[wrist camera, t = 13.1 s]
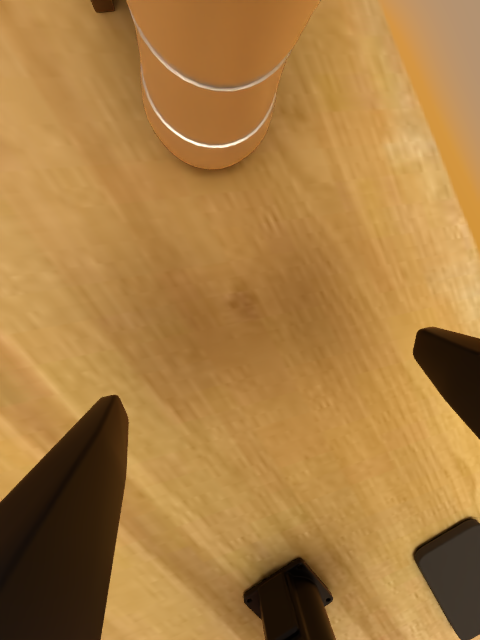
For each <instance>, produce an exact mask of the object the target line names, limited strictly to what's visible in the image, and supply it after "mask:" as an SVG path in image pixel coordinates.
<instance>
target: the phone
mask: <svg viewBox="0 0 480 640" xmlns="http://www.w3.org/2000/svg"><path fill="white" fill-rule="evenodd" d="M415 562H416V564H417V565H418V567H419V569H420V571H421V572H422V574H423V576H424V578H425V580H426V581H427V583H428V585H429V587H430V589H431V590H432V592H433V594H434V596H435V597H436V599H437V601H438V603H439V605H440V606H441V608H442V610H443V612H444V614H445V616H446V618H447V619H448V621H449V622H450V624H451V626H452V628H453V629H454V631H455V633H456V634H457V636H458V637H459V638H460V639H461V640H470V639H472V638H474V637H476V636H478V635H479V634H480V524H479V523H478V522H477V521H476V520H467V521H465V522H463V523H461V524H460V525H458V526H456V527H455V528H453V529H451V530H450V531H448V532H446V533H445V534H443V535H441V536H439V537H438V538H436V539H434V540H433V541H431V542H429V543H428V544H426V545H424V546H423V547H421V548H420V549H419V550H418V551H417V552H416V554H415Z"/></svg>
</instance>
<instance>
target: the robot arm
mask: <svg viewBox="0 0 480 640" xmlns="http://www.w3.org/2000/svg"><path fill="white" fill-rule="evenodd" d="M413 355H414V358H415V360H416V361H417V363H418V364H419V365H420V367H421V368H422V369H423V371H424V372H425V374H426V375H427V376H428V378H429V379H430V380H431V382H432V383H433V384H434V386H435V387H436V389H437V390H438V391H439V393H440V394H441V395H442V397H443V398H444V399H445V400H446V402H447V403H448V404H449V405H450V406H451V408H452V409H453V410H454V411H455V412H456V413H457V414H458V415H459V417H460V418H461V419H462V420H463V421H464V422H465V423H466V425H467V426H468V427H469V428H470V429H471V430H472V431H473V432H474V434H475V435H476V436H477V437H478V438H479V439H480V339H479V338H475V337H471V336H467V335H463V334H460V333H456V332H452V331H448V330H444V329H440V328H436V327H428V328H423V329H420V330H419V331H418V332H417V334H416V339H415V344H414V348H413ZM128 424H129V422H128V416H127V413H126V411H125V409H124V407H123V404H122V402H121V400H120V398H119V397H118V395H110V396H106V397H102V398H100V399H99V400H98V401H97V402H96V403H95V404H94V405H93V407H92V408H91V409H90V410H89V411H88V412H87V413H86V414H85V415H84V416H83V417H82V418H81V419H80V420H79V421H78V422H77V423H76V424H75V425H74V426H73V427H72V428H71V429H70V430H69V431H68V432H67V434H66V435H65V436H64V437H63V438H62V439H61V440H60V441H59V442H58V443H57V444H56V445H55V446H54V447H53V448H52V449H51V450H50V451H49V452H48V453H47V454H46V455H45V456H44V457H43V458H42V460H41V461H40V462H39V463H38V464H37V465H36V466H35V467H34V468H33V469H32V470H31V471H30V472H29V473H28V474H27V475H26V476H25V477H24V478H23V479H22V480H21V481H20V482H19V483H18V484H17V485H16V487H15V488H14V489H13V490H12V491H11V492H10V493H9V494H8V495H7V496H6V497H5V498H4V499H3V500H2V501H1V502H0V640H100V639H101V633H102V627H103V620H104V614H105V608H106V602H107V595H108V589H109V583H110V576H111V570H112V564H113V557H114V551H115V545H116V538H117V532H118V526H119V519H120V513H121V507H122V500H123V494H124V488H125V480H126V469H127V447H128ZM243 597H244V603H245V604H246V605H247V606H248V607H249V608H250V609H251V610H252V611H253V612H254V613H255V614H256V615H257V616H258V617H259V618H260V619H261V620H262V623H263V629H264V635H265V640H336V638H335V636H334V633H333V630H332V627H331V624H330V621H329V618H328V615H327V613H326V610H325V606H326V605H328V604H329V603H331V602H332V600H333V597H332V594H331V592H330V591H329V590H328V589H327V587H326V586H325V585H324V584H323V583H322V582H321V580H320V579H319V578H318V577H317V576H316V575H315V573H314V572H313V571H312V570H311V569H310V568H309V566H308V565H307V564H306V563H305V562H304V561H303V560H302V559H296V560H294V561H293V562H291V563H290V564H288V565H287V566H285V567H284V568H282V569H281V570H279V571H278V572H276V573H275V574H273V575H272V576H270V577H269V578H267V579H265V580H264V581H262V582H261V583H259V584H258V585H256V586H255V587H253V588H252V589H250V590H249V591H247V592H246V593H245V594H244V595H243Z"/></svg>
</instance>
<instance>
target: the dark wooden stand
mask: <svg viewBox="0 0 480 640" xmlns="http://www.w3.org/2000/svg"><path fill="white" fill-rule="evenodd" d="M91 2H92V4H93V7H94V9H95V11H96V12H105V11H114V5H113V1H112V0H91Z"/></svg>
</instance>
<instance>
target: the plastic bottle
mask: <svg viewBox="0 0 480 640" xmlns="http://www.w3.org/2000/svg"><path fill="white" fill-rule="evenodd" d="M320 1H321V0H126V2H127V4H128V6H129V9H130V12H131V16H132V19H133V22H134V25H135V29H136V35H137V41H138V47H139V53H140V59H141V70H140V80H141V89H142V98H143V105H144V109H145V112H146V115H147V118H148V121H149V123H150V125H151V127H152V129H153V130H154V132H155V134H156V135H157V136H158V138H159V139H160V140H161V142H162V143H163V144H164V145H165V146H166V147H167V148H168V149H169V150H170V151H171V152H172V153H173V154H174V155H175V156H176V157H177V158H179V159H181V160H182V161H184V162H185V163H187V164H189V165H192V166H194V167H197V168H202V169H221V168H226V167H229V166H231V165H233V164H235V163H238V162H239V161H241V160H242V159H244V158H245V157H246V156H248V155H249V154H250V153H252V152H253V151H254V150H255V148H256V147H257V146H258V145H259V144H260V143H261V141H262V139H263V138H264V136H265V134H266V132H267V130H268V127H269V124H270V121H271V118H272V114H273V110H274V106H275V100H276V93H277V86H278V83H279V80H280V77H281V74H282V71H283V68H284V65H285V62H286V60H287V58H288V56H289V54H290V52H291V51H292V49H293V47H294V45H295V44H296V42H297V40H298V38H299V36H300V35H301V33H302V31H303V29H304V27H305V26H306V24H307V22H308V20H309V18H310V17H311V15H312V13H313V11H314V10H315V8H316V7H317V5H318V4H319V3H320Z"/></svg>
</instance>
